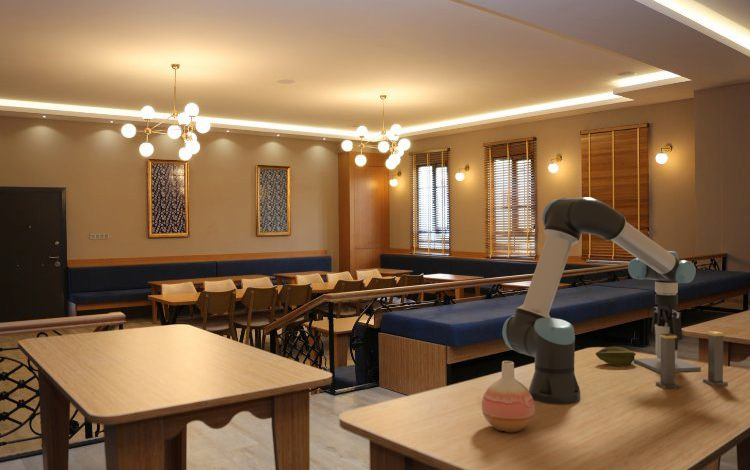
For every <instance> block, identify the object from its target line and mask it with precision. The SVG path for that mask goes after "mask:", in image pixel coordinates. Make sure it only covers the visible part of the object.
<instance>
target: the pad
mask: <svg viewBox="0 0 750 470" xmlns="http://www.w3.org/2000/svg"><path fill="white" fill-rule="evenodd" d="M633 363H635V364H637V365H639V366H641V367H642V366H643V367H645V368H647V369H649V370H651V371H654V372H656V373H659V374H661V359H659V358H657V357H648V358H647V357H646V358H634V361H633ZM700 370H702V368H701V366H698V365H696V364H692V363H690V362H688V361H685V360H683V359H682V360H681V359H680V358H677V359H675V373H682V372H699V371H700Z"/></svg>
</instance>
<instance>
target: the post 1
mask: <svg viewBox="0 0 750 470" xmlns="http://www.w3.org/2000/svg"><path fill="white" fill-rule="evenodd" d="M659 336H660V337H661V373H660V380H659V381H655V386H658V387H660V388H662V389H665V390H672V389H674V390H675V389H681V387H680V384H678V383H677V382H676V372H675V338H677V335H673V334H670V333H667V334H659Z"/></svg>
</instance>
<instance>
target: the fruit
mask: <svg viewBox="0 0 750 470" xmlns="http://www.w3.org/2000/svg"><path fill="white" fill-rule="evenodd" d="M595 355H596V358H598V359H599V360H601V361H603V362H604V363H606V364H609V365H612V366H616V367H627V366H629V365H631V364H632V363H634V359H635V356H636V355H637V354H636V352H634V351H631V350H629V348H628V349H627V348H625V347H623V346H622V347H621V346H608V347H604V348H601V349H599V351H597V352H595Z"/></svg>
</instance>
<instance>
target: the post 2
mask: <svg viewBox="0 0 750 470" xmlns="http://www.w3.org/2000/svg"><path fill="white" fill-rule="evenodd" d="M706 335H708V337H707V338H708V340H707V341H708V345H707V346H708V349H707V351H708V352H707V357H708V359H707V361H708V362H707V367H708V368H707V369H708V370H707V378H703V380H702V381H703V383H705V384H708V385H710V386H712V387H721V386H722V387H723V386H728V384H729V382H728V381H726V380H724V374H723V373H724V337H725V335H726V334H725V332H720V331H717V330H716V331H714V330H713V331H706Z"/></svg>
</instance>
